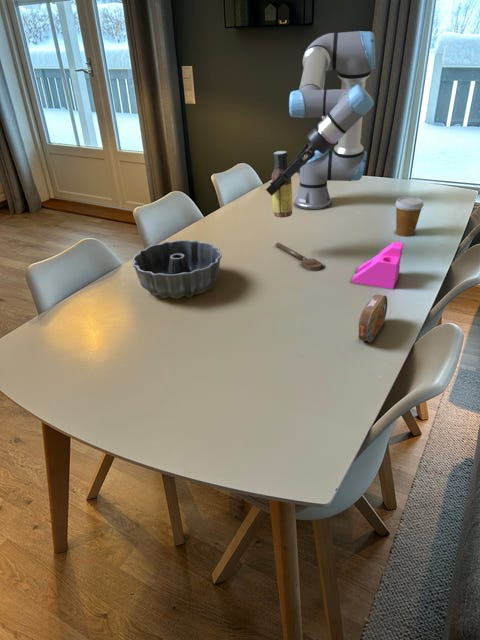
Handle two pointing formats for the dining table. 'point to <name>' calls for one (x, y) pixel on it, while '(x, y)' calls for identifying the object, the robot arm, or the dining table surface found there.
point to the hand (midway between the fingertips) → (271, 189)
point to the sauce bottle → (282, 187)
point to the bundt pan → (178, 268)
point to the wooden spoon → (302, 258)
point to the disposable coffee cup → (407, 215)
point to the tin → (372, 318)
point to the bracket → (381, 268)
